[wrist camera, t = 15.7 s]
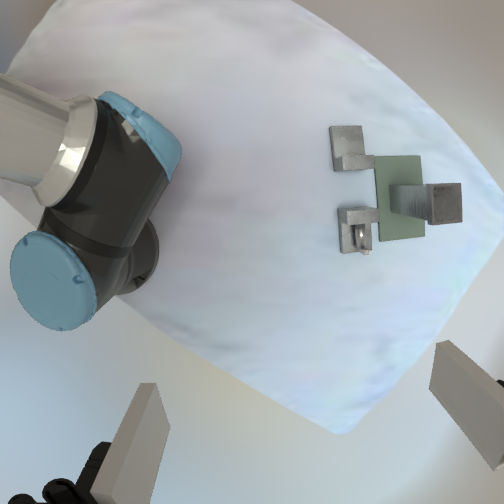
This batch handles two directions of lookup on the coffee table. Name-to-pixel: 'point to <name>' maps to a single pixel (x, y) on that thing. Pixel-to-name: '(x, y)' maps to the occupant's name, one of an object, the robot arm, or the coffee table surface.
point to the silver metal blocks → (357, 218)
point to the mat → (386, 174)
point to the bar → (428, 202)
